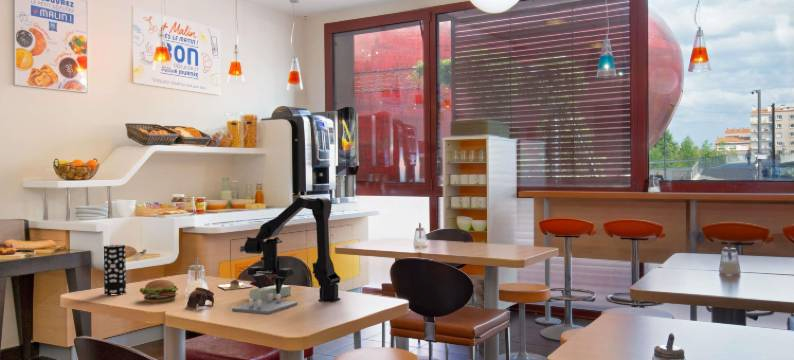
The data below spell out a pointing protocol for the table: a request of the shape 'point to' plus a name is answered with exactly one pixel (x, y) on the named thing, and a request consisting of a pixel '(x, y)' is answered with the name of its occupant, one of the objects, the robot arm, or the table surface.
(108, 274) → the white-spotted black cylinder
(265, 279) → the icecream
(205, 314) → the table surface
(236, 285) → the dessert
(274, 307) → the peg plate
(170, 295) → the food
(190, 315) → the table surface
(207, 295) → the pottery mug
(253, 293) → the shelf board
